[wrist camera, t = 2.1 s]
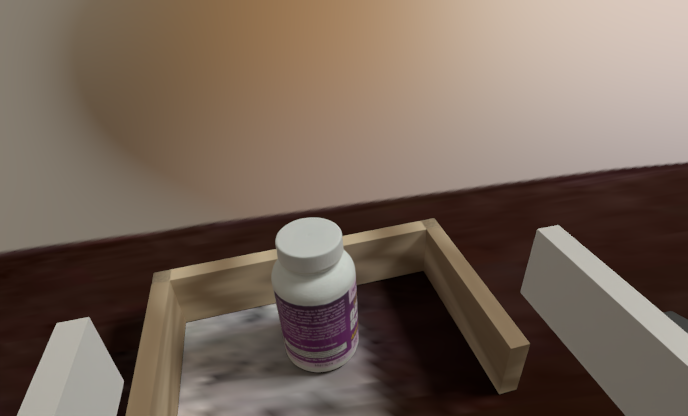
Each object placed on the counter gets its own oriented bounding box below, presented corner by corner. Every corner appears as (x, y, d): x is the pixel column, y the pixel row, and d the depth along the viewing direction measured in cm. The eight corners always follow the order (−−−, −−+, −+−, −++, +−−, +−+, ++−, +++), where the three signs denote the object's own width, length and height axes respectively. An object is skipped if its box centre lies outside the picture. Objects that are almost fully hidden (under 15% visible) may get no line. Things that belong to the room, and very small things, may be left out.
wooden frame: (430, 259, 37) (434, 218, 34) (516, 389, 26) (529, 343, 24) (171, 314, 33) (154, 272, 30) (147, 493, 22) (118, 451, 20)
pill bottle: (372, 357, 28) (369, 249, 23) (298, 387, 27) (276, 278, 22) (342, 304, 33) (334, 202, 27) (276, 327, 31) (254, 223, 26)
